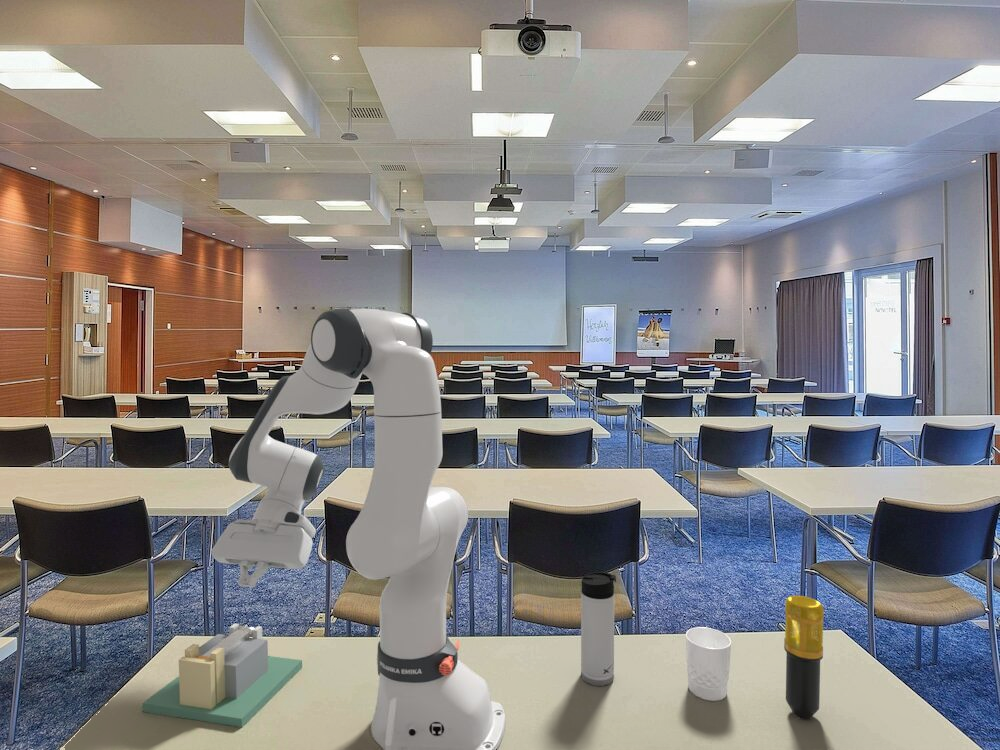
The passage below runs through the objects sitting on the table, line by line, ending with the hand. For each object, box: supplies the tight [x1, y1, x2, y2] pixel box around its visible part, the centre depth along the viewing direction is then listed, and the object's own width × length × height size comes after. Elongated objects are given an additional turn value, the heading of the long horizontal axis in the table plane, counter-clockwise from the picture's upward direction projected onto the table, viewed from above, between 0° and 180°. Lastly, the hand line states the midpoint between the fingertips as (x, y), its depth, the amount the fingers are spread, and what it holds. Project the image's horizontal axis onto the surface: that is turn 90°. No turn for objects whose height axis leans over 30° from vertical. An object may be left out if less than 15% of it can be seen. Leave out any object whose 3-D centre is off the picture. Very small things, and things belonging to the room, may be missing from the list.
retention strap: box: [195, 625, 255, 660], centre depth 104 cm, size 4×13×2 cm, turn 168°
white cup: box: [685, 626, 732, 702], centre depth 103 cm, size 8×8×10 cm
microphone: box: [783, 595, 825, 720], centre depth 96 cm, size 6×13×20 cm, turn 99°
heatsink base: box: [141, 623, 303, 728], centre depth 104 cm, size 20×18×10 cm
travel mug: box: [580, 571, 617, 687], centre depth 107 cm, size 6×7×20 cm
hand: (245, 585), depth 109 cm, fingers closed
